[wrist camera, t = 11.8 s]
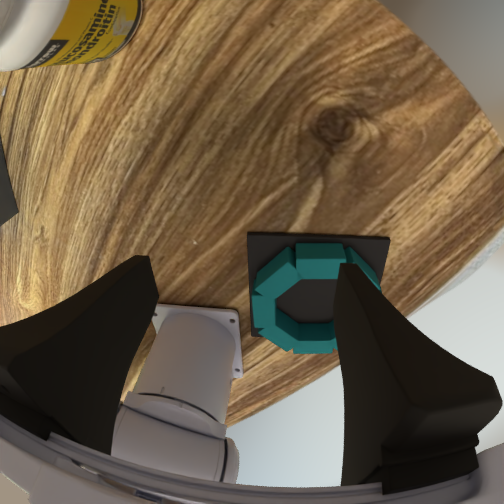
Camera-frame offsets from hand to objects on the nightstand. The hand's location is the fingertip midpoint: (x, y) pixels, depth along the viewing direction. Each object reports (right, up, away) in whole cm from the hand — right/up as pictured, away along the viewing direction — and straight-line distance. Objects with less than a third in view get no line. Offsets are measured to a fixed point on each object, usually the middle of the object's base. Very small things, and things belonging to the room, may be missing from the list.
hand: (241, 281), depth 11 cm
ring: (+5, -2, +11) cm, 13 cm away
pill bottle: (-9, +16, +2) cm, 19 cm away
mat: (+5, -2, +12) cm, 13 cm away
